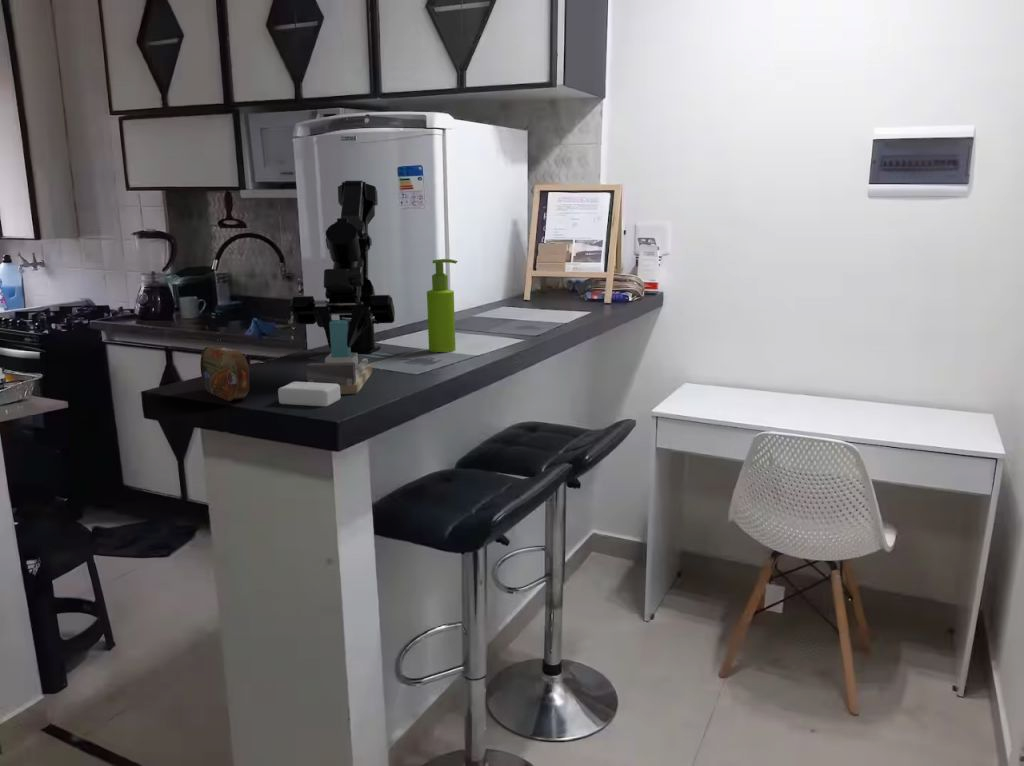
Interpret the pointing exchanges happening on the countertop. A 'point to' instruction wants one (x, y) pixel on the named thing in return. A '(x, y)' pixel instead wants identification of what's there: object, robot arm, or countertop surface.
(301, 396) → the soap
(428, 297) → the soap dispenser
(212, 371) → the tin
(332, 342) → the sliding block
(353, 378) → the guide rail
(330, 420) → the countertop surface
